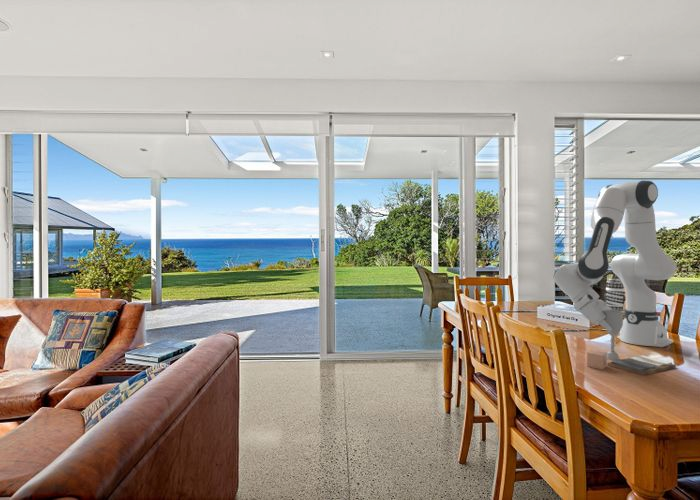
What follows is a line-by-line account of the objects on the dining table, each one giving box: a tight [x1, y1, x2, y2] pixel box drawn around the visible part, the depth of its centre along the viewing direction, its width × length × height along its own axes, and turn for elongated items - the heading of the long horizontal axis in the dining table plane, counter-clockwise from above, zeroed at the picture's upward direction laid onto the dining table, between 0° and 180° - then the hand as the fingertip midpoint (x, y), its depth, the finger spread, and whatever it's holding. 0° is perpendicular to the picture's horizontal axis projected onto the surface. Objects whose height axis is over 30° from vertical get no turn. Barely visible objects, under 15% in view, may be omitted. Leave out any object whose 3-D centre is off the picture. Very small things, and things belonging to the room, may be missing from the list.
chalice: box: [603, 310, 625, 361], centre depth 162 cm, size 7×7×18 cm
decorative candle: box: [604, 278, 626, 320], centre depth 218 cm, size 9×9×25 cm
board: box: [607, 355, 676, 376], centre depth 152 cm, size 20×12×2 cm, turn 117°
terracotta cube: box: [586, 349, 608, 370], centre depth 151 cm, size 5×5×5 cm
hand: (614, 328), depth 161 cm, fingers open, 8 cm apart
